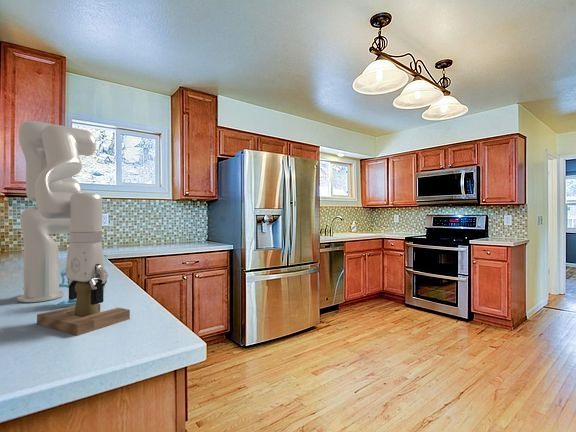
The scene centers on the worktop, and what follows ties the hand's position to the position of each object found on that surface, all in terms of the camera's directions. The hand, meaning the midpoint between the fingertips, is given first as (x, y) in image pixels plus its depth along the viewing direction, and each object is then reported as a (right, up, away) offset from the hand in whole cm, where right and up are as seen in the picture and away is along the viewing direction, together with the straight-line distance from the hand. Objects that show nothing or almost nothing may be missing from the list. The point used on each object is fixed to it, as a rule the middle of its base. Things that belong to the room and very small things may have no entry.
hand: (85, 301), depth 88 cm
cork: (0, -6, 0) cm, 6 cm away
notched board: (0, -5, -1) cm, 5 cm away
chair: (-14, -6, +16) cm, 22 cm away
